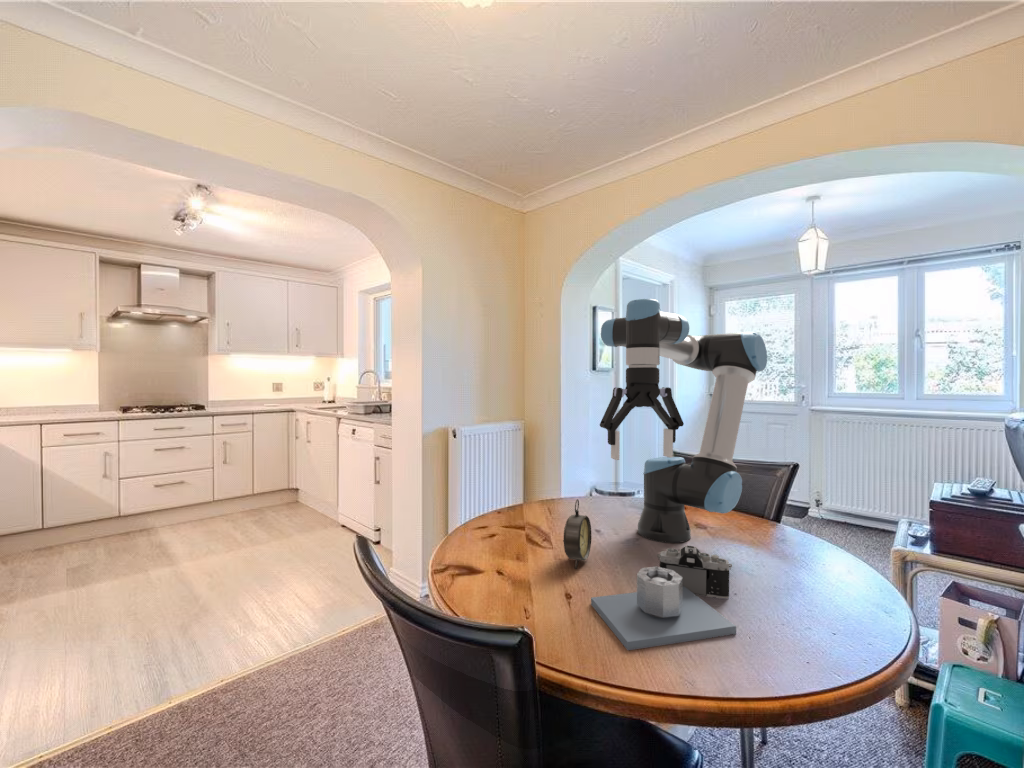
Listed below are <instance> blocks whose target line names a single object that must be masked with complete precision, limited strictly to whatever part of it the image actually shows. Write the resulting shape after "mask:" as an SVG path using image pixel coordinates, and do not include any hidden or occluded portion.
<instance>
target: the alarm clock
mask: <svg viewBox="0 0 1024 768" xmlns="http://www.w3.org/2000/svg"><path fill="white" fill-rule="evenodd" d="M579 506H580V501H579V499H578V498H577V499H576V500H575V503H574V513H575V514H571V515H569V516H568V517H567V519H566V522H565V525H564V530H563V540H562V542H563V548H564V552H565V555H566V557H567V558H568V560H575V563H574V564H575V565H574V570H577V569H578V565H579V561H586V560H588V557H589V555H590V553H591V552H590V551H591V546H592V524H591V520H590V518H589V516H587V515H581V514H580V513H579V508H580V507H579Z"/></svg>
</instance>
